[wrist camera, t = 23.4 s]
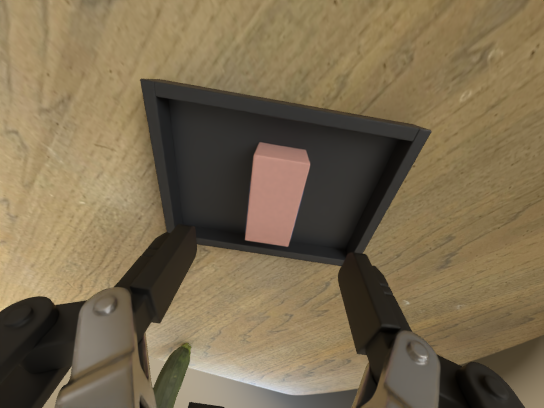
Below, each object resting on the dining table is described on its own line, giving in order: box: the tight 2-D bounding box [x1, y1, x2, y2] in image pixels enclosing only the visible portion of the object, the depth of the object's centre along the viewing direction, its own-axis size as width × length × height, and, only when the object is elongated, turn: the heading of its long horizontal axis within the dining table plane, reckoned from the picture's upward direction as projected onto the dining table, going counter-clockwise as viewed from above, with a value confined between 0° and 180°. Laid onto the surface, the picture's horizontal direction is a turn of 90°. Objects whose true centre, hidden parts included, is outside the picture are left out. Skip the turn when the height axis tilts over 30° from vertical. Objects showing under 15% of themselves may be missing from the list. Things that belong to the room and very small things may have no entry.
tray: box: [140, 79, 431, 266], centre depth 16 cm, size 18×13×2 cm
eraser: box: [245, 142, 310, 247], centre depth 15 cm, size 4×7×3 cm, turn 171°
